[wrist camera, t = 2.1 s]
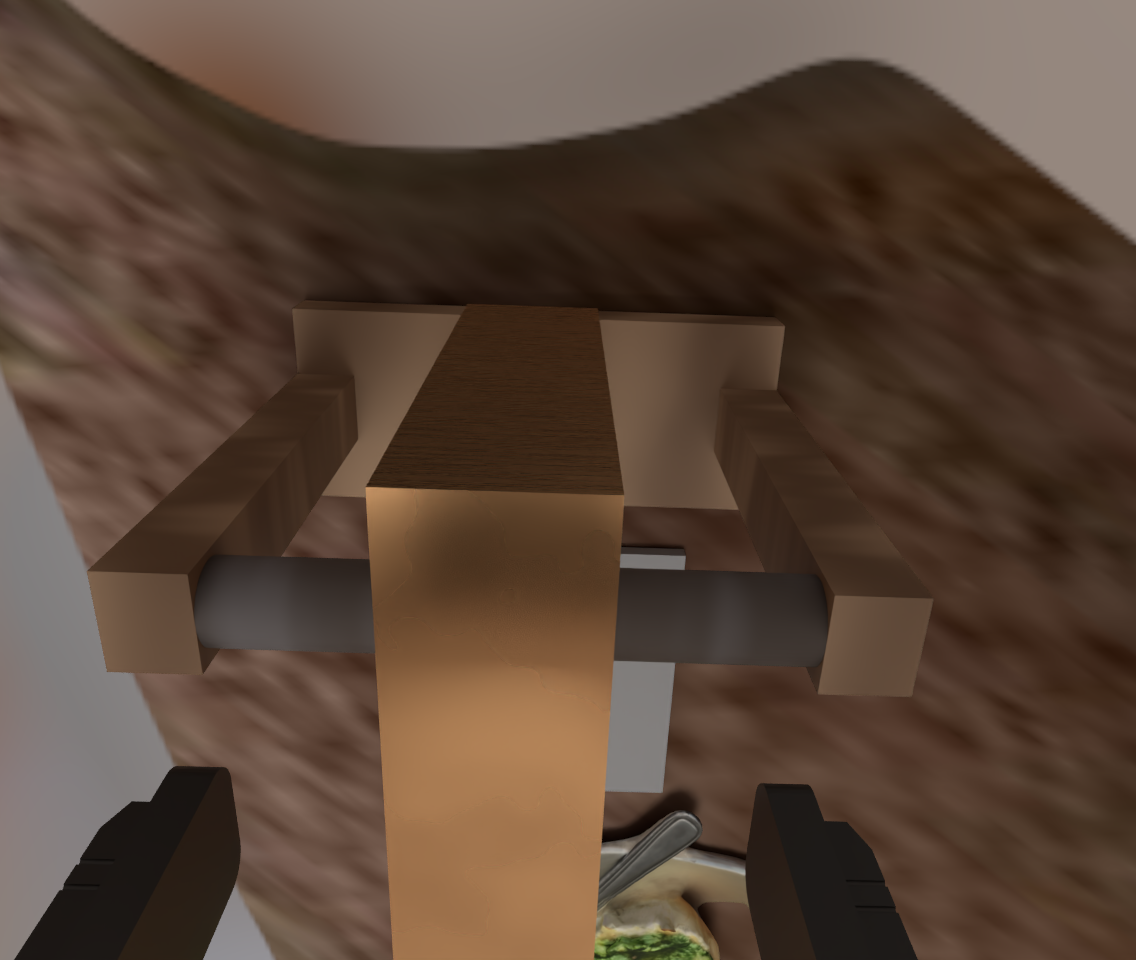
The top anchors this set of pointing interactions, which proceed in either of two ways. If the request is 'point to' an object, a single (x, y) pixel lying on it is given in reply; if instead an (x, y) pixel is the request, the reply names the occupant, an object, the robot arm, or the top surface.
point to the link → (498, 638)
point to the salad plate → (662, 893)
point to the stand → (650, 478)
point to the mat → (641, 701)
